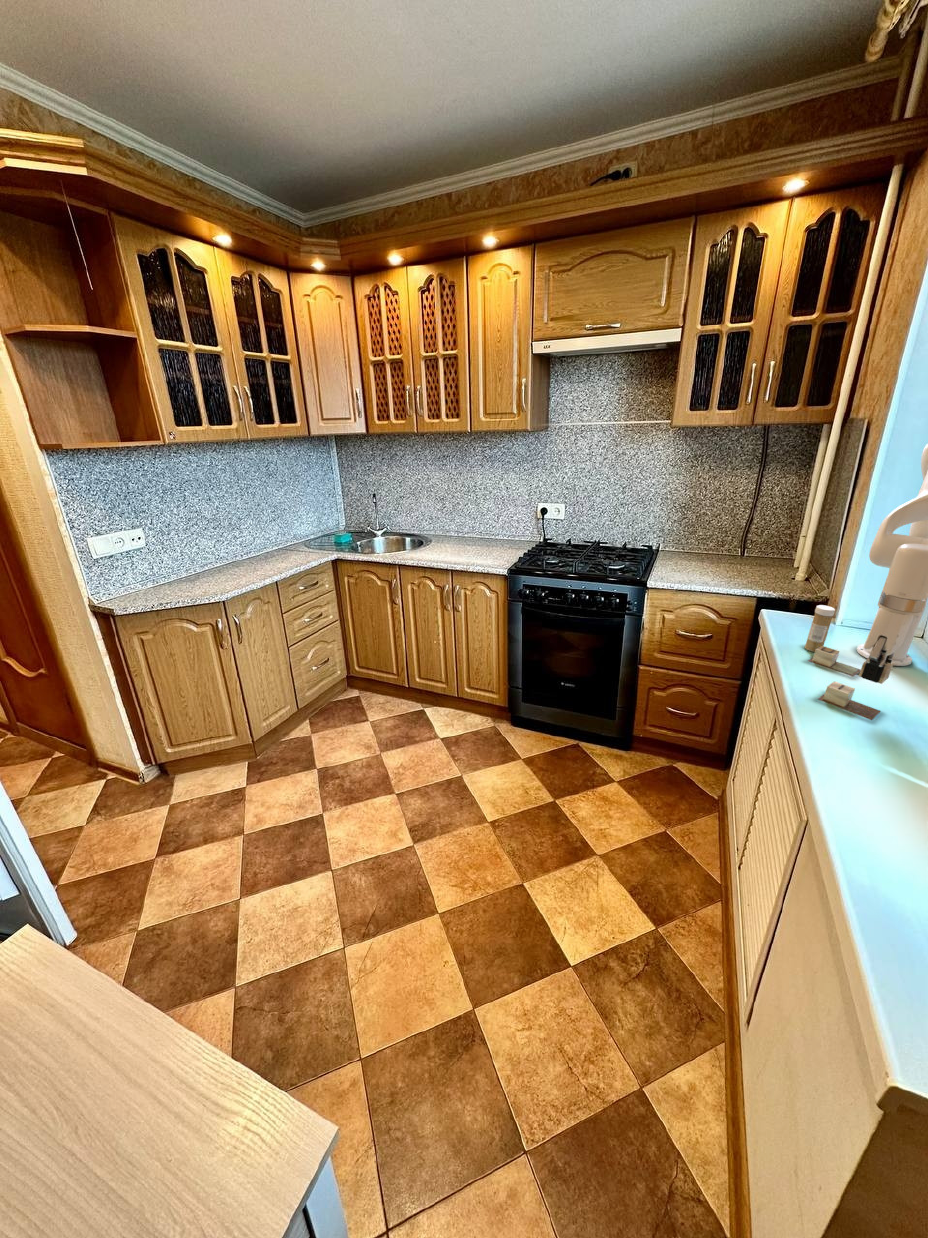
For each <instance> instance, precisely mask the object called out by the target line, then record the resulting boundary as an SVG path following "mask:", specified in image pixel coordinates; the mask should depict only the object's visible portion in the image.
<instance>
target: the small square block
mask: <svg viewBox="0 0 928 1238" xmlns="http://www.w3.org/2000/svg"><path fill="white" fill-rule="evenodd" d="M867 660H868V658H866V660H865V661H863V663H862V666H861V668H860V670H861V671H860V673H859V674H858V677H860V678H862V677H861V676H862V673H863V670H864V667H865V665H866V662H867ZM883 667H884V669H883V672H882V675H881V677H880V680H879V682H877V683H876V684H881V685H882V684H884V683H885V682H886V681H887V680H888V679H889V677H890V674H891V672H892V669H893V667H894V665H893V664H891V663H888V662H884V665H883Z"/></svg>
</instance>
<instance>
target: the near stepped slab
mask: <svg viewBox="0 0 928 1238" xmlns="http://www.w3.org/2000/svg"><path fill="white" fill-rule="evenodd" d="M855 690H856V688H854V687H851V686H849V685H846V684H843V683H842V682H841V683H840V682H838V681H832V682H831V683H830V684H829V685H827V686H826V688H825V692H824V694H822V695H821V696H820V697H818V698H817V700H819V701H821V702H824V703H826V704H828V705H831V706H834V707H836V708H839V709H842V710H845V711H847V712H849V713H851V714H855V715H857V716H859V717H863V718H865V719H868V720H870V721H872V720H873V719H874V718H876V717H877V716H878V715H879V713H881V710H879V709H877V708H873V707H871V706H869V705H865V704H863V703H861V702H857V701H855V700H852V698H853V696H854V693H855Z"/></svg>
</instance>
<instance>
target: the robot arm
mask: <svg viewBox="0 0 928 1238" xmlns="http://www.w3.org/2000/svg"><path fill="white" fill-rule="evenodd" d="M920 457H921V458H920V469H921V476H922V483H921V486H920V489H919V490H918V494H917V496H916V497H914V498H912V499H910V500H908V501H906V502H905V503H903V504H900V505H899V506H897V507H896V508H895V509H893V510H892V511H891V512H889V513H888V514H887V516H886V517H884V519H883V520H882V522H880V525H879V527H878V529H877V532H876V534H875V537H874V539H873V541H872V542H871V543H872V544H871V546H870V549H869V554H868V555H869V556H868V557H869V560H870V562H871V563H872V564H873V565H875V566H878V567H881V568H888V573H887V576H886V580H885V582H884V585H883V587H882V591H881V592H880V595H879V599H878V602H877V606H878V607H877V611H876V614H875V617H874V619H873V622H872V625H871V629H870V631H869V633H868V636H867V638H866V640H865V642H864V643H862V644H859V645H858V646H857V647H856V652H857V653H858V654H859V655H860V656H862V657H864V658H866V660H867V659H868V660H867V662H866V665H865V667H864V670H863V673H862V676H861V677H860V678H862V679H863V680H868V681H870V682H873V683H876V684H878V683H877V682H879V680H880V677H881V675H882V672H883V669H884V667H883V665H884V662H888V663H891V664H893V667H894V666H895V667H896V666H897V667H907V666H910V665H911V664H912V662H913V658H912V656H910V655H909V654H908V653H909V650H910V648H911V645H912V642H913V639H914V637H915V634H916V632H917V630H918V628H919V626H920V625H919V624H920V623H921V620H922V618H923V614H924V613H925V610H926V607H927V600H928V443H927V444H926V445H925V446H924V448H923V450H922V453H921V456H920ZM906 525H910V528H909V533H908V535H906V534H901V533H900V534H899V533H894V532H895V531H896V530H897V529H899V528H901V527H903V526H906Z"/></svg>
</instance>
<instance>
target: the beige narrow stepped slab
mask: <svg viewBox="0 0 928 1238" xmlns="http://www.w3.org/2000/svg"><path fill="white" fill-rule="evenodd" d="M839 655H840V650H838V649H834V648H831V647H827V646H824V645H823V646H821V647H819V648H817V649H816V650H815V652H813V656H812V657H811V658H809V659H808V660H807V662H808V663H812V664H815V665H818V666H821V667H823V668H827V669H830V670H833V671H835V672H838V673H841V674H843V675H847V676H850V677H855V676H856V675H859V674H860V671H861V668H860V669H859V668H856V667H854V666H850V665H848V664H844V663H842V662H839V661H837V660H838V657H839Z"/></svg>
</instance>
